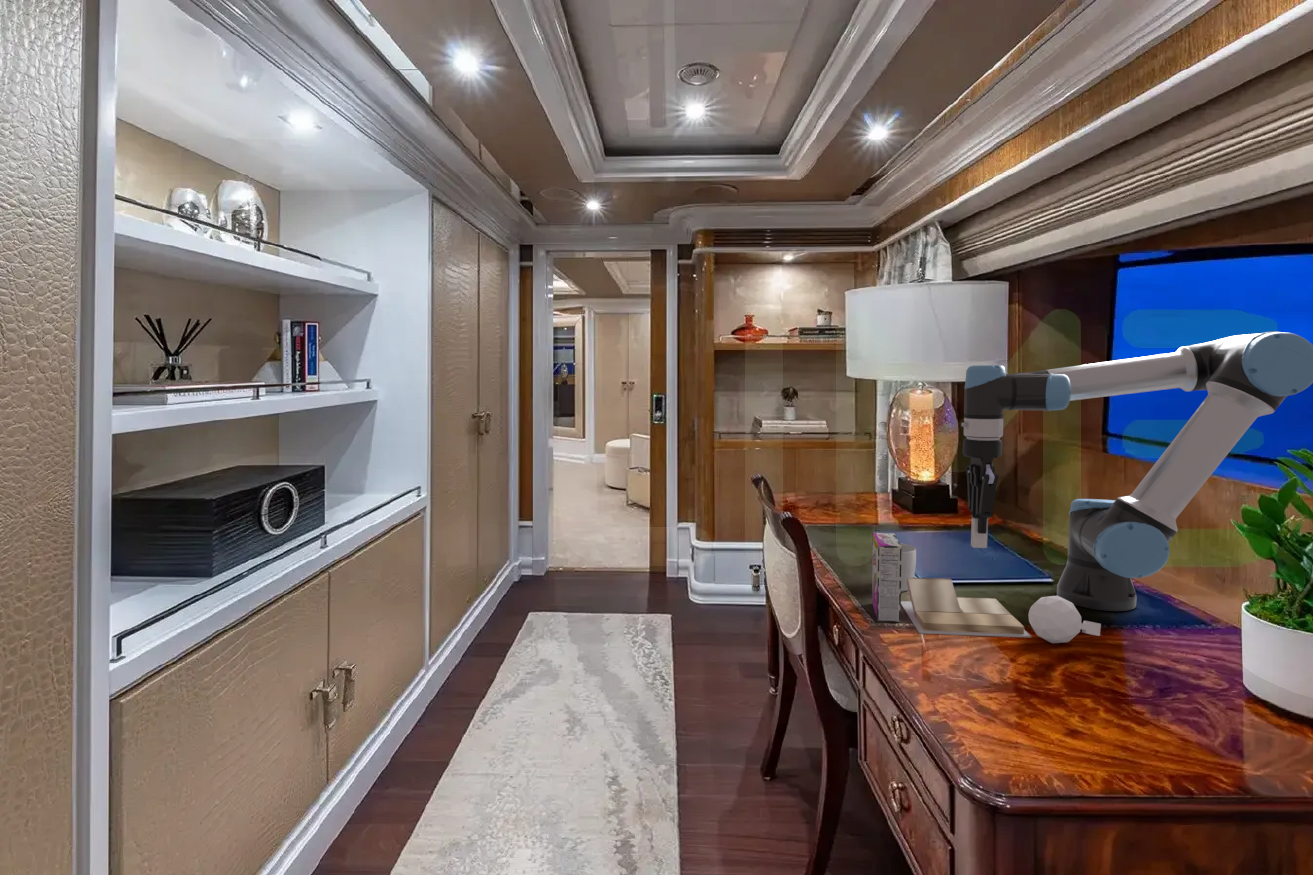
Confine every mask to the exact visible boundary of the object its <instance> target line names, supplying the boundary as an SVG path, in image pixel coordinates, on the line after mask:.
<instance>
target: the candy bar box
mask: <svg viewBox="0 0 1313 875" xmlns="http://www.w3.org/2000/svg"><path fill="white" fill-rule="evenodd" d="M901 554H902V547H901V545H900V542H899V539H898V536H897V535H896V534H895V533H892V532H890V533H889V532H888V533H886V532H873V533H872V570H871V571H872V572H871V573H872V574H871V575H872V580H871V581H872V583H871V584H872V585H871V586H872V587H871V588H872V589H871V593H872V594H871V604H872V606H873V610H874V613H875V616H876V619H877V621H878V622H887V623H888V622H889V623H900V622H901V611H902V610H901V608H902V606H901V601H902V592H901Z"/></svg>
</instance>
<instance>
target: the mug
mask: <svg viewBox="0 0 1313 875" xmlns="http://www.w3.org/2000/svg"><path fill="white" fill-rule="evenodd" d="M899 543H900V542H899ZM900 545H901V547H902V554H901V593H903V592H907V591H909V590H908V586H907V578H915V575H916V574H915V573H916V566H917V548H916V547H915V546H914V545H910V544H907V543H900Z"/></svg>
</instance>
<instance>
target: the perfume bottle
mask: <svg viewBox="0 0 1313 875" xmlns="http://www.w3.org/2000/svg"><path fill="white" fill-rule="evenodd" d="M1028 622H1029V624H1030V625H1031V628H1032V629H1033V631H1034V632H1035V635H1036V636H1037V637H1040V639H1041V638H1042V639H1043V640H1045V641H1047V642H1049V643H1051V644H1060V643H1069V642H1071V640H1073V638H1075V637H1076V636H1077V635H1078V634H1080V633H1083V634H1088V635H1092V636H1097V637H1100V636H1101V628H1102V627H1101V626H1102V623H1098V622H1094V621H1089V620H1083V622H1082V616H1081V614H1080V612H1079V611H1078V609H1077V608H1076V605H1074V604H1073V603H1072V602H1070V601H1068V600H1066V599H1063V598H1061V597H1059V596H1057V595H1049V596H1042V597H1040V598H1038V600H1036V601H1035V602H1034V603H1033V604H1032V605H1031V606H1030V608H1029V611H1028ZM1081 630H1082V631H1081Z"/></svg>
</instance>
